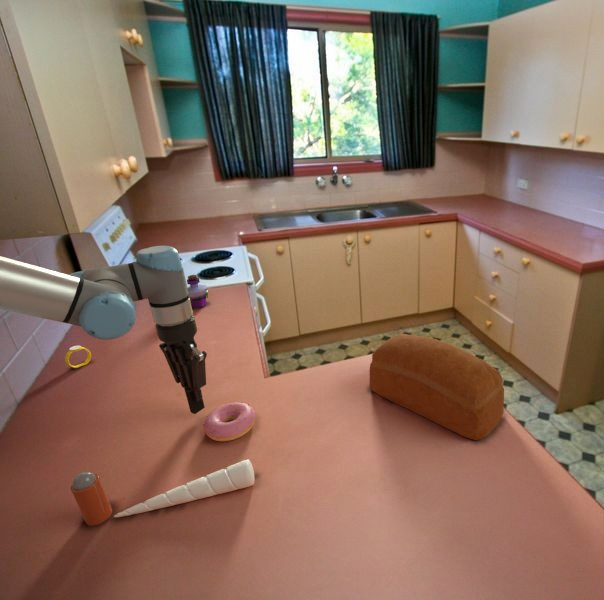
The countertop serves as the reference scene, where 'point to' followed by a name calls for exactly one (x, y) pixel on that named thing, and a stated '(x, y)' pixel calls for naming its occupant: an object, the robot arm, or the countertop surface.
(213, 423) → the doughnut
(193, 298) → the potion bottle
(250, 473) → the unicorn horn
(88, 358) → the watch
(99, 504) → the salt shaker
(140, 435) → the countertop surface
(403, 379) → the bread
